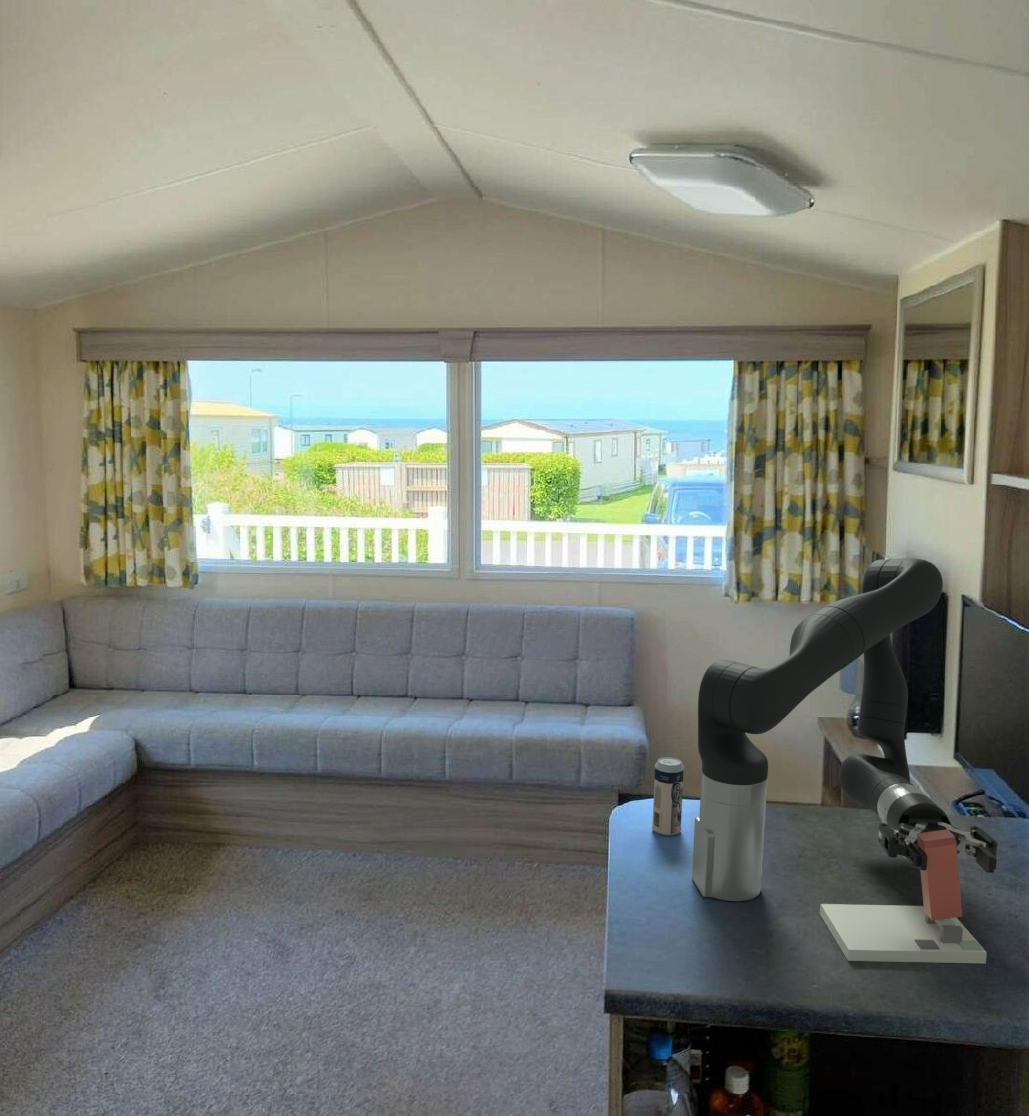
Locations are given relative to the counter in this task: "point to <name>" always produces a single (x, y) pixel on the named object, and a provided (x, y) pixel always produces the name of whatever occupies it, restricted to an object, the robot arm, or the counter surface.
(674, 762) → the beer can
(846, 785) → the robot arm
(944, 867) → the lever
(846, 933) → the breaker base
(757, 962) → the counter surface
